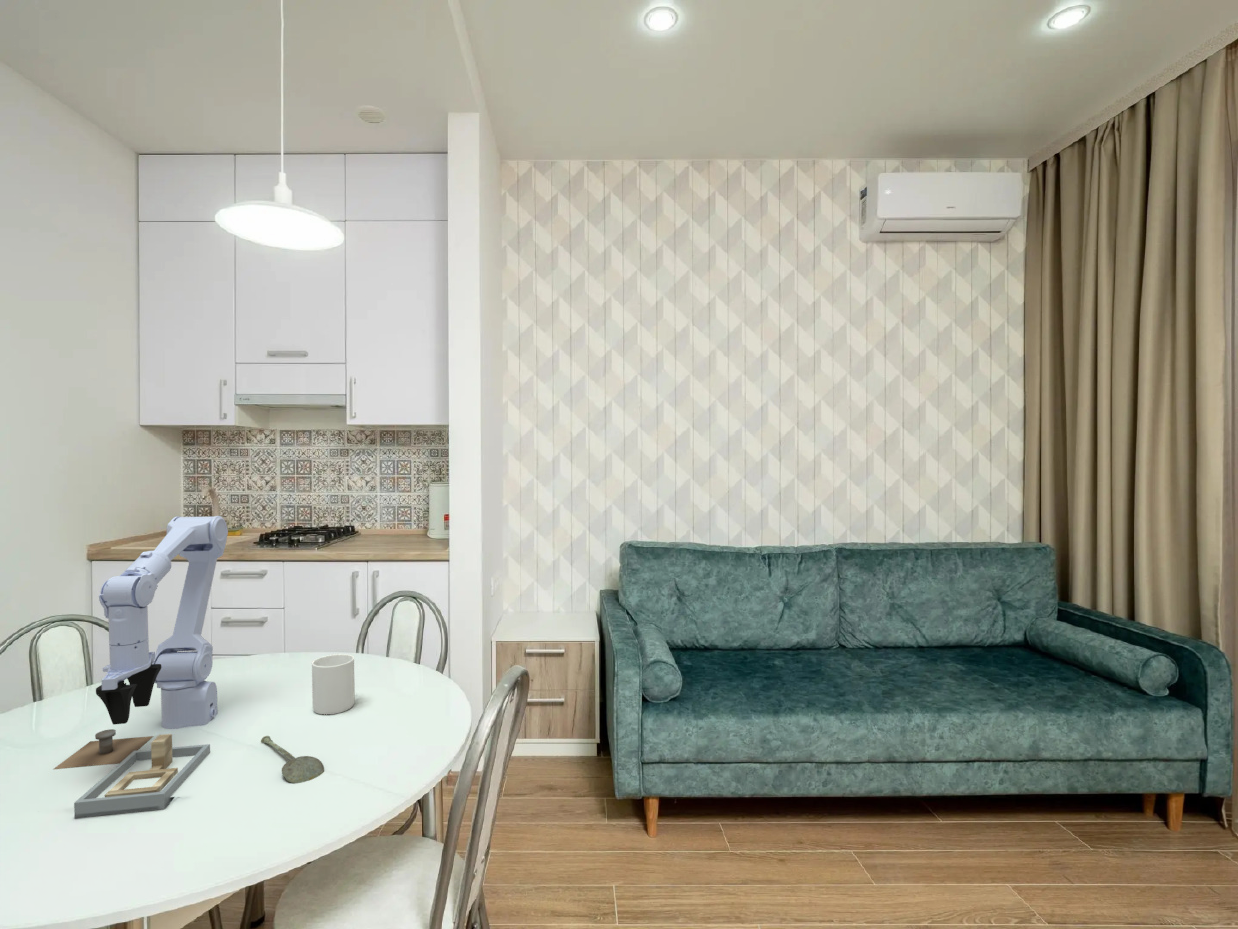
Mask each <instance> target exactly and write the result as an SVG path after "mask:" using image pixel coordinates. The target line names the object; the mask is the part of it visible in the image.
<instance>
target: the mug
mask: <svg viewBox="0 0 1238 929" xmlns="http://www.w3.org/2000/svg"><path fill="white" fill-rule="evenodd" d="M311 682H312V683H311V685H312V686H311V688H312V696H311V697H312V710H313V711H314V713H316V714H318V715H322V714H324V715H325V714H326V715H327V714H330V715H337V714H340V713H344V712H346V711H349V710H350V709H351V708H353V707H354V705H355V700H356V699H355V692H356V691H355V688H356V687H355V656H354V655H351V654H347V653H338V654H336V653H335V654H328V655H324V656H320V657H317V658H315V659H314V660H313V661H312V662H311Z"/></svg>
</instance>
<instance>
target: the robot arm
mask: <svg viewBox="0 0 1238 929" xmlns="http://www.w3.org/2000/svg"><path fill="white" fill-rule="evenodd" d="M227 525H228V524H227V523H226V520H225V519H224V517H223V516H221V515H214V516H181V515H180V516H179V515H178V516H174V517H173V518H172V519H171V520H170V521H169V522H168V523H167V525H166V526H167V527H166V535H165V536H164V537H163V538H162V540H161V541H160V542H159V543H158V545H157V546H156V547H155V549H154V550H148V551H143V552H141V553H140V555H139V556H138V557H137V558H136V559H135V560H134V561H133V562H132V563H131V564H130V565H129V566H128V567H127V568H126V569H125V570H124V571H123V572H121V574H120V575H116V576H112V577H110V578H109V579H107V580H105V581H104V582H103V584H102V586H101V588H100V591H99V592H100V594H99V595H98V602H99V603H100V605H101V606H102V608H103V612H104V613H103V616H104V617H105V619H108V643H109V646H108V647H109V664H107V665H105V666H103V667H102V672H103V673H105V676H104V677H103V678H102V679H101V681H100V682H101V684H100V685H99V686H97V687H96V688H95V694H96V696H97V697H98V698H99V699H100V700H101V701H102V703H103V704H104V706H105V708H106V710H107V713H108V715H109V718H110V720H111V723H112V725H123V724H127V723H128V722H129V718H130V713H131V703H132V702H133V705H134V707H135V708H139V707H140V708H141V707H142V708H143V707H148V706H150V702H151V699H152V693H153V689H154V686H155V684H156V688H157V689H160V706H161V707H160V709H161V710H160V712H161V727H162V728H164V729H165V730H175V729H176V730H177V729H182V728H189V727H190V728H191V727H199V726H200V727H201V726H207V725H208V724H209V723H210V721H212V720H213V719H214V718H215V717H216V716H217V715H218V712H219V711H218V688H217V684H216V682H215V681H208V680H207V681H206V679H207V678H208V677H209V676H210V674H211V672H212V669H213V651H214V650H213V649H214V647H213V645H212V644H211V643H210V642H209V641H208V640H206V639H205V638H204V637H203V636H202V632H203V627H204V623H205V618H206V614H207V610H208V605H209V599H210V594H211V590H212V584H213V580H214V575H215V570H216V566H217V561H218V559H219V558H221V557H222V556H224V553H225V548H226V544H227V539H228V534H229V529H228V526H227ZM178 555H179V556H180V558H184V559H185V560H187V562H188V566H187V570H186V575H185V580H184V584H183V587H182V593H181V598H180V602H179V607H178V610H177V615H176V618H175V619H176V620H175V623H174V627H173V633H172V635H171V636H170V637H168V638H166V639H165V640H163V641H162V642H161V643H160V644H158V645H157V648H156V651H150V649H149V648H150V647H149V646H150V644H149V642H150V640H149V614H148V613H149V612H148V608H149V607H148V605H149V604H151V603H152V602H153V601H154V600H153V599H154V597H155V594H156V591H157V589H158V586H159V585H158V584H159V583H160V582H161V581H162V579H164V578H165V577H166V576H167V574H168V573H169V572H170V571H171V568H172V562H171V561H172V560H174V558H176V557H177V556H178ZM126 680H127V681H128V683H129V684H127V683H126V682H125V681H126Z"/></svg>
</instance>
